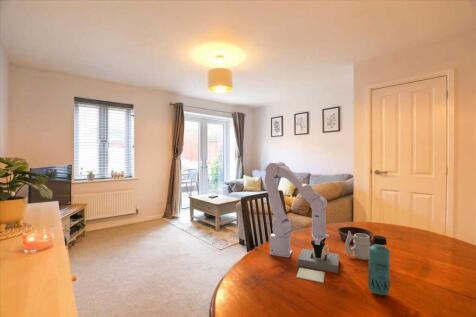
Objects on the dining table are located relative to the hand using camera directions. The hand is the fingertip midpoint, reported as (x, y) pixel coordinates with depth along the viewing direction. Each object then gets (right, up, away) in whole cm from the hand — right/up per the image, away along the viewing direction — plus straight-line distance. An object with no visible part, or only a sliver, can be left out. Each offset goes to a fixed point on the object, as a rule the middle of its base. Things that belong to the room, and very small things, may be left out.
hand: (318, 255), depth 106 cm
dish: (+29, -3, +28) cm, 41 cm away
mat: (-7, -4, -10) cm, 13 cm away
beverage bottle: (+13, -4, -23) cm, 27 cm away
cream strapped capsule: (0, -4, 0) cm, 4 cm away
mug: (+20, -4, +7) cm, 22 cm away
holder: (0, -4, 0) cm, 4 cm away
